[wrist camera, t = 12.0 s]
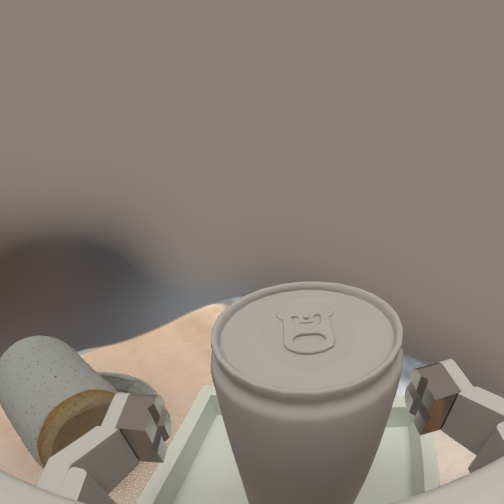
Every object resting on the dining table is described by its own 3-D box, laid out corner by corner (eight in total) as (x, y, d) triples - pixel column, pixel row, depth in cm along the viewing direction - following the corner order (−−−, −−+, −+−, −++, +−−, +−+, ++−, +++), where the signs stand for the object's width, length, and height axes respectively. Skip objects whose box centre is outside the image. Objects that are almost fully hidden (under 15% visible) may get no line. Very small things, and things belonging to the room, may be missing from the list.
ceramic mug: (82, 511, 11) (8, 432, 8) (27, 441, 15) (-25, 361, 13) (190, 418, 19) (164, 329, 17) (120, 377, 23) (92, 298, 21)
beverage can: (343, 470, 13) (376, 273, 9) (352, 544, 9) (442, 378, 5) (255, 476, 14) (221, 284, 10) (249, 550, 9) (182, 400, 5)
